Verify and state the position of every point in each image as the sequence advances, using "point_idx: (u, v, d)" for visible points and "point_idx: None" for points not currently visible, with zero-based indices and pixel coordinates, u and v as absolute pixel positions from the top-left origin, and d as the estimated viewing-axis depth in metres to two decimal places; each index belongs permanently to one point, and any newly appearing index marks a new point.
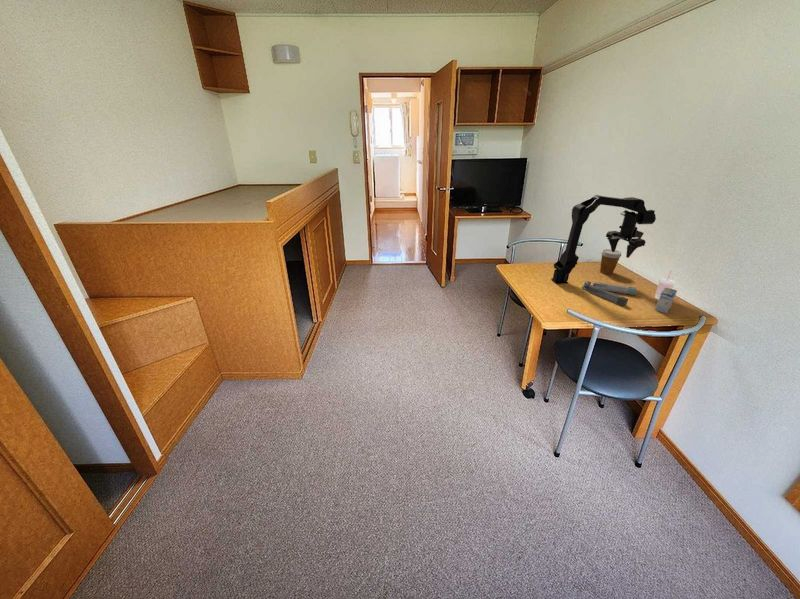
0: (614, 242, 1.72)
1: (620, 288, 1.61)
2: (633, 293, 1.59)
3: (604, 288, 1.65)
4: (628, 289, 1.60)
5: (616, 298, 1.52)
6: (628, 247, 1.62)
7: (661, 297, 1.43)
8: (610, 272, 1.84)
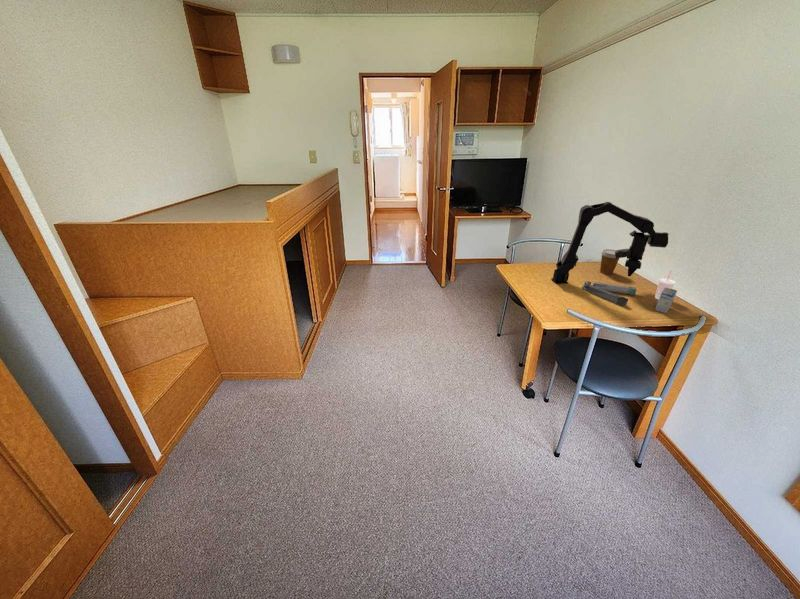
0: None
1: (620, 288, 1.61)
2: (633, 293, 1.59)
3: (604, 288, 1.65)
4: (628, 289, 1.60)
5: (616, 298, 1.52)
6: None
7: (661, 297, 1.43)
8: (610, 272, 1.84)
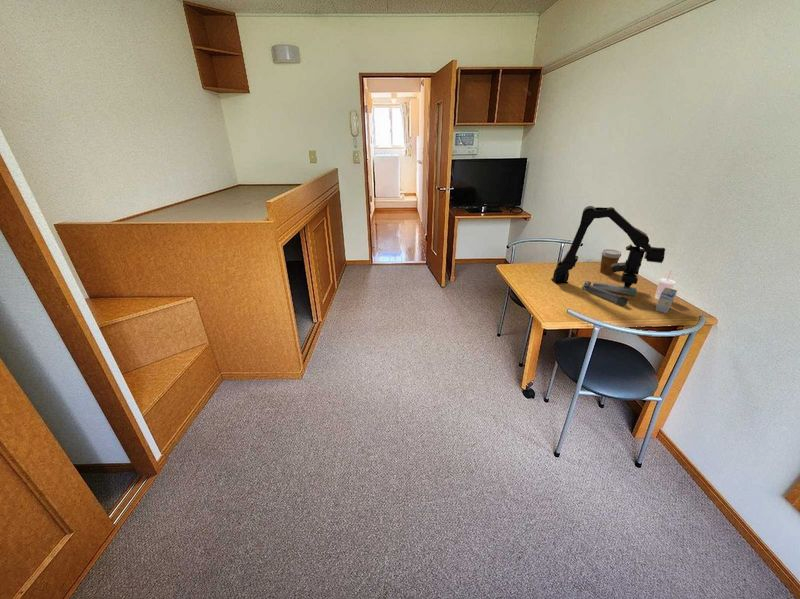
0: None
1: (620, 288, 1.61)
2: (633, 293, 1.59)
3: (604, 288, 1.64)
4: (628, 289, 1.60)
5: (616, 298, 1.52)
6: None
7: (661, 297, 1.43)
8: (610, 272, 1.84)
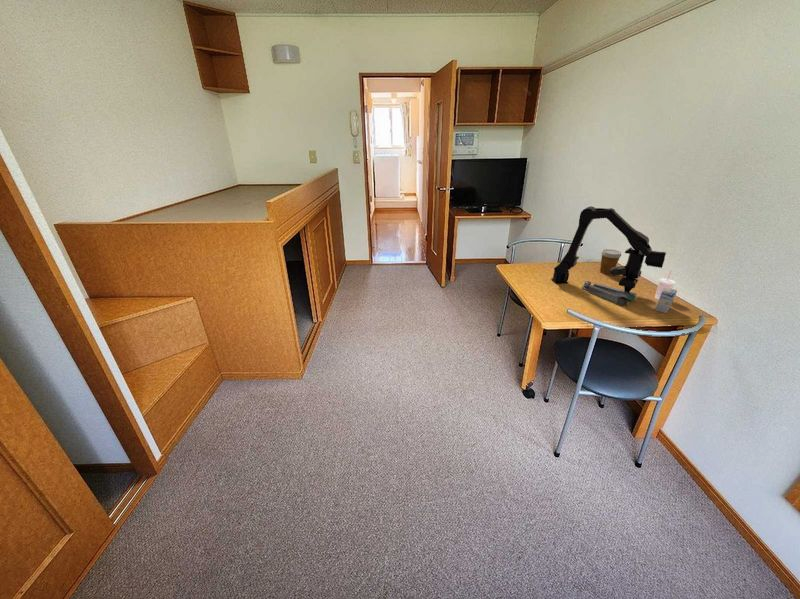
0: None
1: (619, 292, 1.57)
2: (631, 299, 1.54)
3: None
4: (627, 294, 1.55)
5: (616, 298, 1.52)
6: None
7: (661, 297, 1.43)
8: None
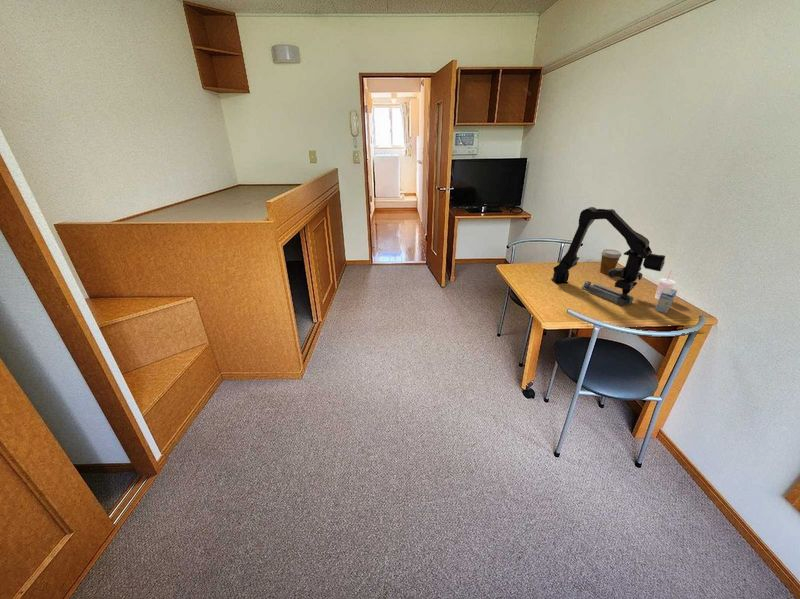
0: None
1: (616, 294, 1.56)
2: None
3: None
4: (623, 296, 1.53)
5: (616, 298, 1.52)
6: (634, 286, 1.53)
7: (661, 297, 1.43)
8: None
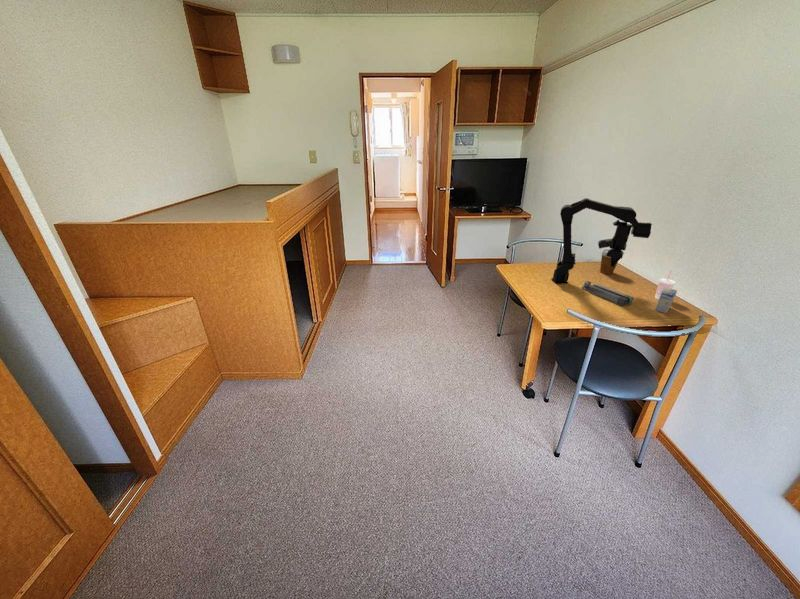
0: None
1: (615, 294, 1.56)
2: (627, 302, 1.52)
3: None
4: (622, 296, 1.53)
5: (616, 298, 1.52)
6: None
7: (661, 297, 1.43)
8: (610, 272, 1.84)
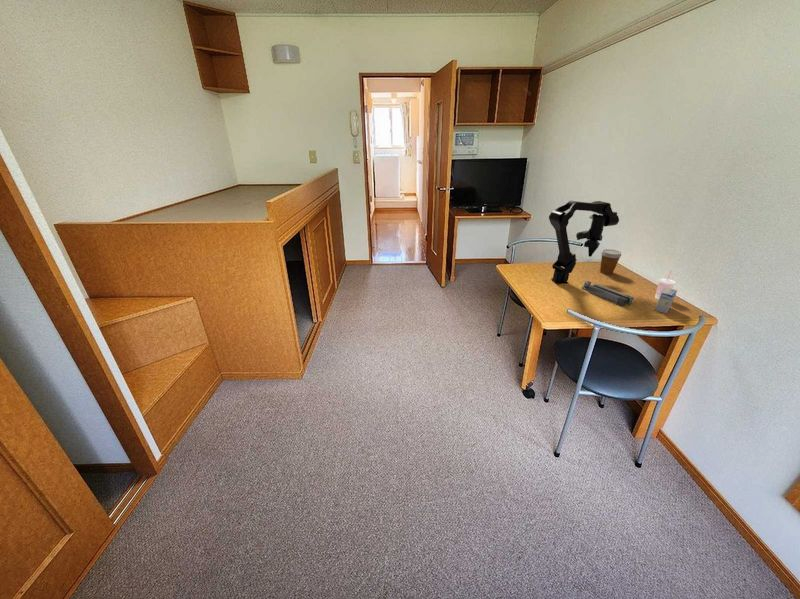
0: None
1: (615, 294, 1.56)
2: (627, 302, 1.52)
3: None
4: (622, 296, 1.53)
5: (616, 298, 1.52)
6: (598, 245, 1.73)
7: (661, 297, 1.43)
8: (610, 272, 1.84)
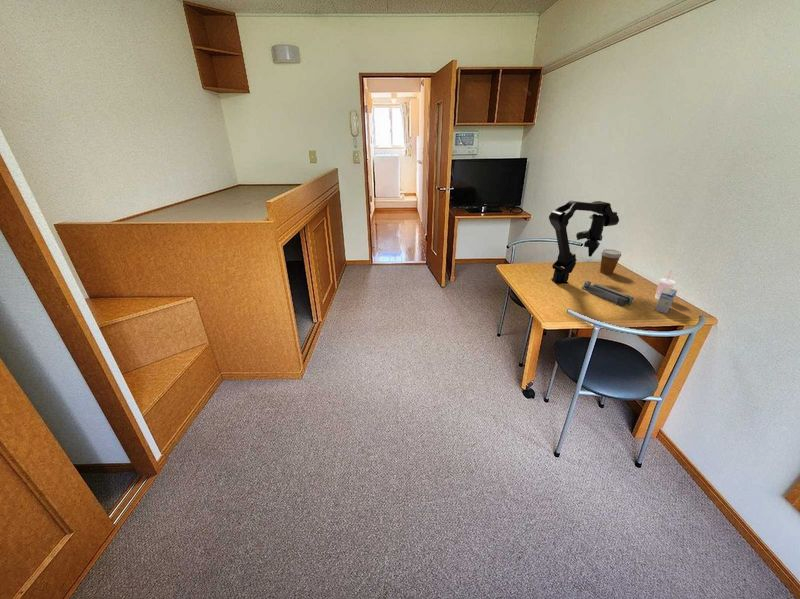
0: None
1: (615, 294, 1.56)
2: (627, 302, 1.52)
3: None
4: (622, 296, 1.53)
5: (616, 298, 1.52)
6: (598, 245, 1.73)
7: (661, 297, 1.43)
8: (610, 272, 1.84)
